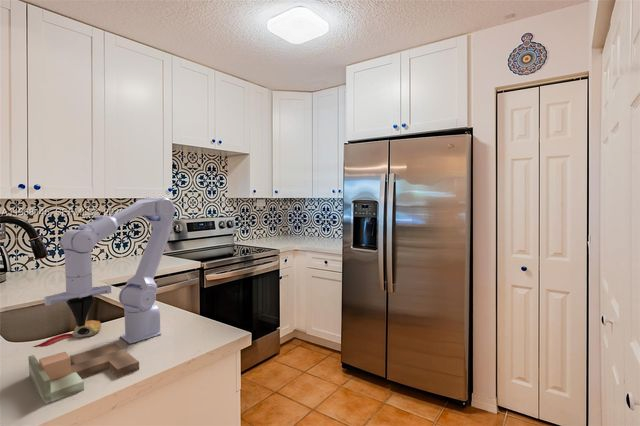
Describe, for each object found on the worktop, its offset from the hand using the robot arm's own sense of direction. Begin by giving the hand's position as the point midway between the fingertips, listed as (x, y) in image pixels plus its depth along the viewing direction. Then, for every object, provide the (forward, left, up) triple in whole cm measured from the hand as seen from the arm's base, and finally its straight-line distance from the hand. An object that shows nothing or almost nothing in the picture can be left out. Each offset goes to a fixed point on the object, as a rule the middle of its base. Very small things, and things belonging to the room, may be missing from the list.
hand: (80, 325), depth 92 cm
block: (+8, +9, -7) cm, 14 cm away
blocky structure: (+2, +8, -9) cm, 13 cm away
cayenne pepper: (+2, -19, -10) cm, 22 cm away
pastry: (-7, -19, -10) cm, 22 cm away
